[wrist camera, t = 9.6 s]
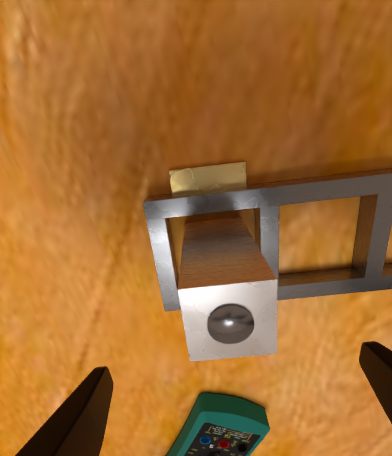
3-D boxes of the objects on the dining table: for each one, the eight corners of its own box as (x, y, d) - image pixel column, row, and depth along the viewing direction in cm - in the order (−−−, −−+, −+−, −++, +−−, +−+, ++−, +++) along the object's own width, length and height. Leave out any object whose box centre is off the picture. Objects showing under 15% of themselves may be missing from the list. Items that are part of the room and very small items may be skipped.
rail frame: (506, 129, 15) (539, 128, 13) (460, 269, 18) (482, 279, 17) (142, 173, 16) (137, 176, 14) (167, 298, 19) (164, 311, 18)
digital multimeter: (267, 400, 24) (276, 433, 22) (213, 474, 29) (215, 509, 26) (202, 382, 23) (203, 414, 21) (158, 462, 28) (154, 497, 26)
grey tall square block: (240, 217, 17) (278, 281, 9) (242, 265, 18) (278, 356, 10) (185, 223, 17) (177, 291, 9) (192, 270, 18) (190, 364, 11)
